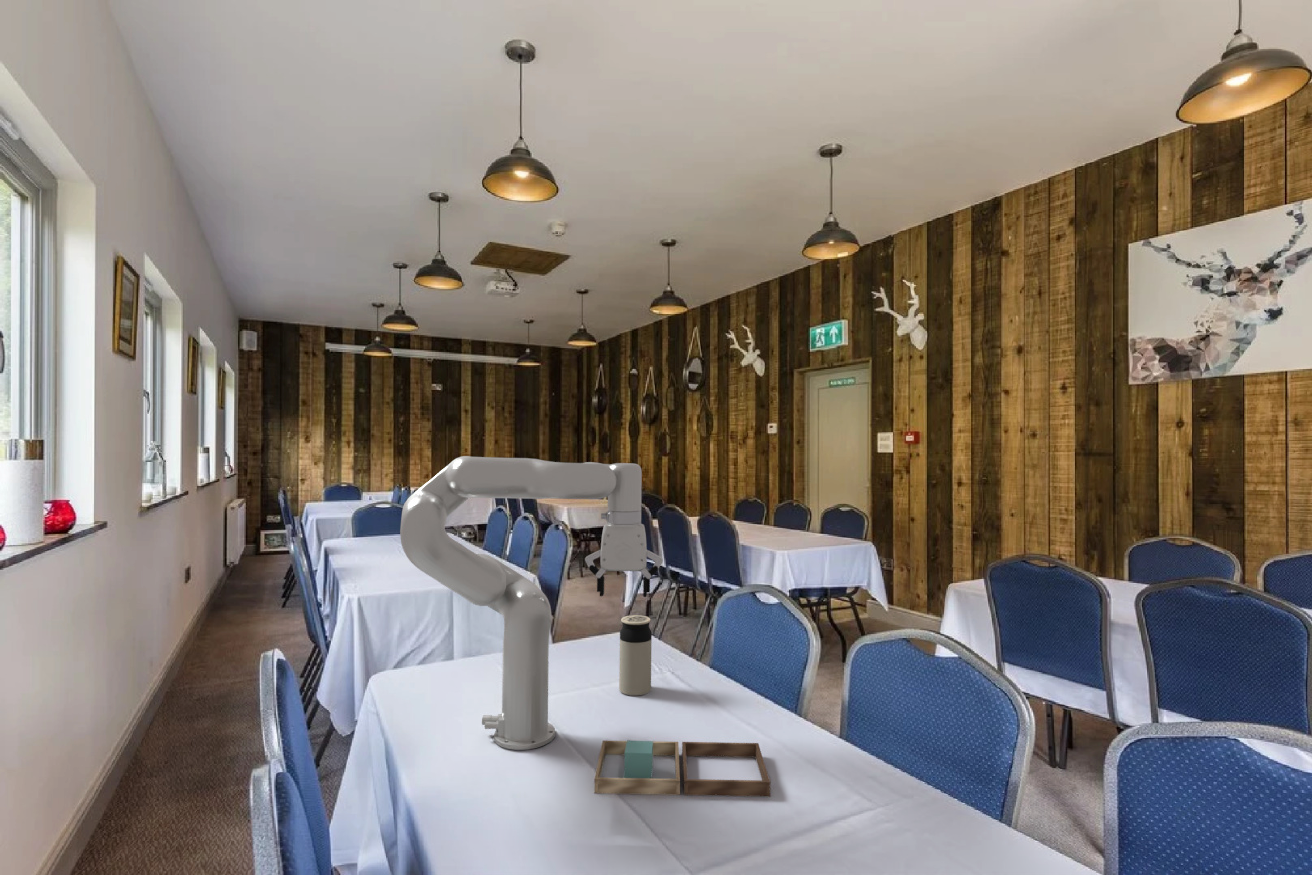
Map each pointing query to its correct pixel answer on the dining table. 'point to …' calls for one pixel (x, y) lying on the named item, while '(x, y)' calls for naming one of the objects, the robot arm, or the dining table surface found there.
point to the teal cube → (638, 759)
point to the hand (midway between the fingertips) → (623, 595)
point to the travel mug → (635, 655)
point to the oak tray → (637, 783)
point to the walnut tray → (725, 785)
